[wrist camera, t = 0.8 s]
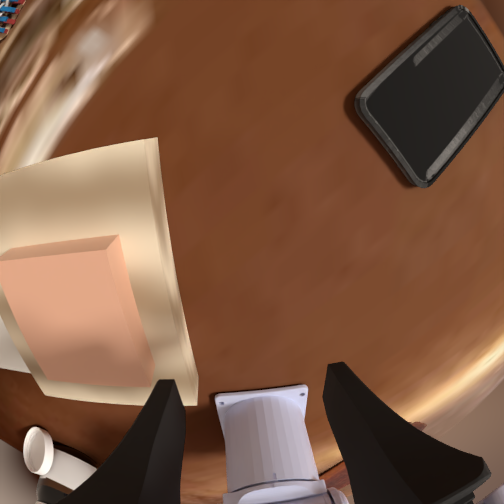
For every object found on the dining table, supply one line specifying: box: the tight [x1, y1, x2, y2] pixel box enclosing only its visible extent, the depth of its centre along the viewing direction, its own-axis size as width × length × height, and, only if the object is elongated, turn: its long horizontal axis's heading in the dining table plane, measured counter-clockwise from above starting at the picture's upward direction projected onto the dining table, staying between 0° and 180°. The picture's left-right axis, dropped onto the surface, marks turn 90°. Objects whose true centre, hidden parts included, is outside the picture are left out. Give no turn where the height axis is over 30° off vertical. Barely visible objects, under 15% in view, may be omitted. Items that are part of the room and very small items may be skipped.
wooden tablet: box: [319, 422, 426, 490], centre depth 34 cm, size 27×10×2 cm, turn 146°
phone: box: [355, 5, 504, 188], centre depth 15 cm, size 8×1×15 cm
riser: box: [0, 137, 198, 406], centre depth 17 cm, size 18×14×3 cm
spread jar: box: [23, 427, 98, 504], centre depth 23 cm, size 12×11×12 cm
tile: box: [0, 234, 155, 387], centre depth 15 cm, size 9×8×2 cm
